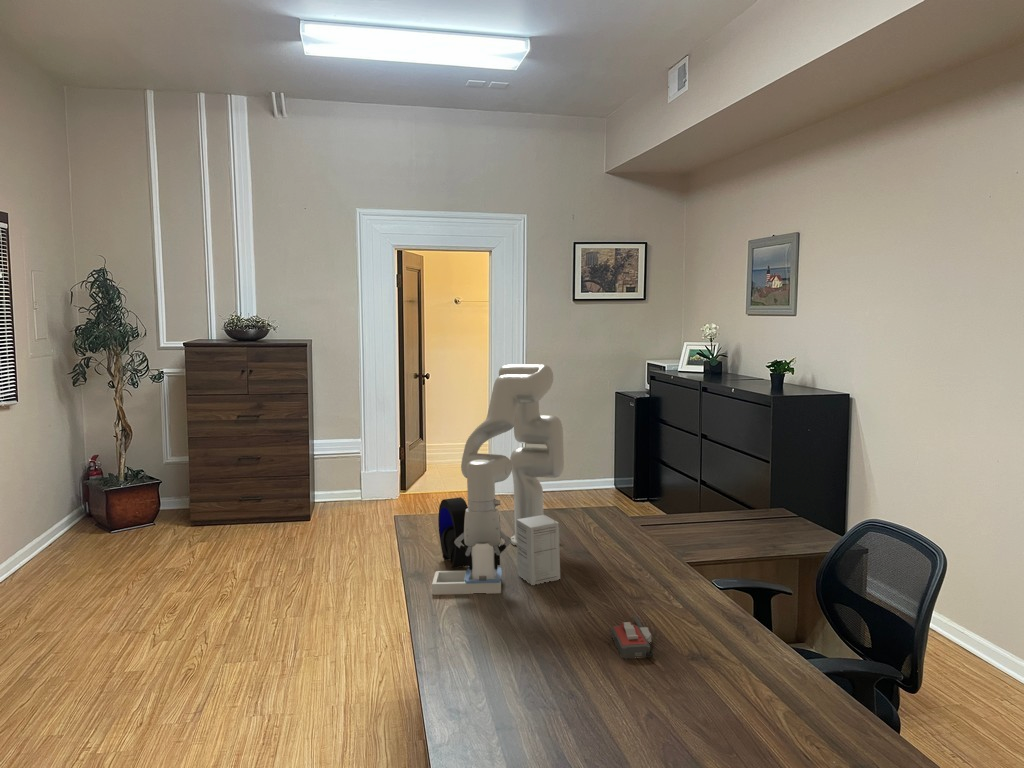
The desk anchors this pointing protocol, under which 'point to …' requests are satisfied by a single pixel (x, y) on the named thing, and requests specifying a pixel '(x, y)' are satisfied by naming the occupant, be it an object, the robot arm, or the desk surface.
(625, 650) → the walkie-talkie
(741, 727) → the desk surface
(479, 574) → the can
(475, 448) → the robot arm
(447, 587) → the block
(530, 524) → the supplement box
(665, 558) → the desk surface
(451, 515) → the headphones
